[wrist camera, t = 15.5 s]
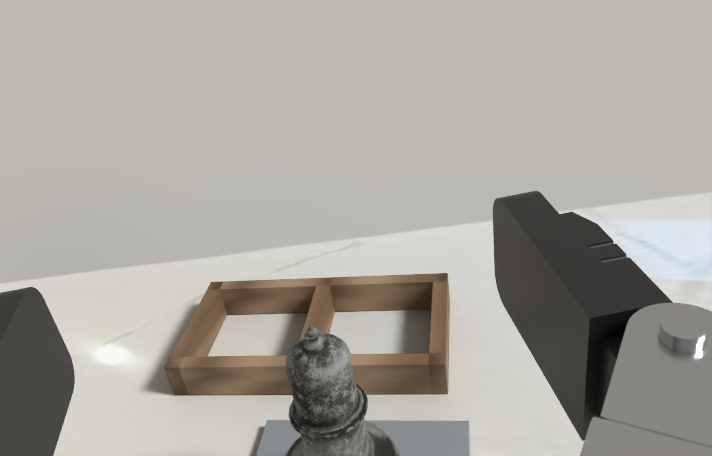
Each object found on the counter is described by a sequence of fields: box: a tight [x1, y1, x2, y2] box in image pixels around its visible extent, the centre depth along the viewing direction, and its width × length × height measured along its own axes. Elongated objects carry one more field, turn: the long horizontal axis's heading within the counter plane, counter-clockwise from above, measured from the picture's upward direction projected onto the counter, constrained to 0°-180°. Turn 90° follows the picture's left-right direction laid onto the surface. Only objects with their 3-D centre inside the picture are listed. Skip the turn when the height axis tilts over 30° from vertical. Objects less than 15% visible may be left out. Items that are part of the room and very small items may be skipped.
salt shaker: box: [285, 326, 401, 456], centre depth 30 cm, size 6×6×12 cm
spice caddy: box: [165, 273, 450, 395], centre depth 45 cm, size 18×10×2 cm, turn 82°
